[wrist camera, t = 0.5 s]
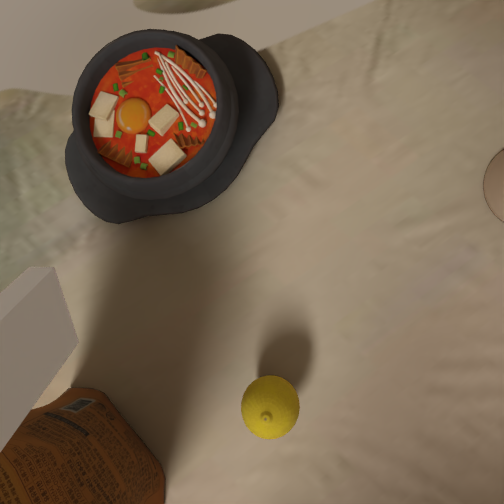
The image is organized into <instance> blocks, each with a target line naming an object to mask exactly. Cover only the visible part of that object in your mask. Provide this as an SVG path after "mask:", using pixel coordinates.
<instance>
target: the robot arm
mask: <svg viewBox="0 0 504 504" xmlns="http://www.w3.org/2000/svg"><path fill="white" fill-rule="evenodd" d="M78 343H79V341H78V338H77V335H76V332H75V329H74V325H73V322H72V319H71V316H70V313H69V310H68V307H67V304H66V301H65V298H64V295H63V292H62V289H61V286H60V283H59V280H58V277H57V274H56V271H55V268H54V267H28V268H27V269H26V270H25V271H24V272H23V273H22V274H21V275H20V276H19V277H17V278H16V279H15V280H14V281H13V282H12V283H11V284H10V285H9V286H8V287H6V288H5V289H4V290H3V291H2V292H1V293H0V452H1V451H2V449H3V448H4V447H5V445H6V444H7V442H8V441H9V440H10V438H11V437H12V435H13V434H14V433H15V431H16V430H17V428H18V427H19V426H20V424H21V423H22V421H23V420H24V419H25V417H26V416H27V414H28V413H29V412H30V410H31V409H32V407H33V406H34V405H35V403H36V402H37V400H38V399H39V398H40V396H41V395H42V393H43V392H44V391H45V389H46V388H47V386H48V385H49V384H50V382H51V381H52V379H53V378H54V377H55V375H56V374H57V372H58V371H59V370H60V368H61V367H62V365H63V364H64V363H65V361H66V360H67V358H68V357H69V355H70V354H71V353H72V351H73V350H74V348H75V347H76V346H77V344H78Z"/></svg>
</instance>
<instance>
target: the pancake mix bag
mask: <svg viewBox="0 0 504 504" xmlns="http://www.w3.org/2000/svg"><path fill="white" fill-rule="evenodd" d="M164 488H165V476H164V473H163V470H162V467H161V464H160V463H159V462H158V460H157V459H156V458H155V457H154V455H153V454H152V453H151V452H150V450H149V449H148V448H147V447H146V445H145V444H144V443H143V442H142V440H141V439H140V438H139V437H138V435H137V434H136V433H135V432H134V430H133V429H132V428H131V427H130V426H129V424H128V423H127V422H126V421H125V420H124V418H123V417H122V416H121V415H120V414H119V412H118V411H117V410H116V408H115V407H114V405H113V404H112V403H111V401H110V400H109V399H108V397H107V396H106V395H105V394H104V393H103V392H101V391H98V390H95V389H92V388H68V389H67V390H66V391H65V392H64V393H63V394H62V395H61V396H60V397H59V398H57V399H56V400H55V401H53V402H51V403H50V404H48V405H45V406H43V407H40V408H36V409H32V410H30V412H29V413H28V414H27V416H26V417H25V419H24V420H23V421H22V423H21V424H20V426H19V427H18V428H17V430H16V431H15V433H14V434H13V435H12V437H11V438H10V440H9V441H8V442H7V444H6V445H5V447H4V448H3V449H2V451H1V452H0V504H164Z"/></svg>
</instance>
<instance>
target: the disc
mask: <svg viewBox="0 0 504 504" xmlns="http://www.w3.org/2000/svg"><path fill="white" fill-rule="evenodd" d="M483 189H484V195H485V199H486V201H487V204H488V206H489V207H490V209H491V211H492V212H493V213H494V214H495V215H496V216H497V217H498V218H499V219H500V220H501V221H503V222H504V150H502V151H501V152H500V153H499V154H497V155H496V156H495V158H494V159H493V160H492V161H491V163H490V164H489V166H488V168H487V170H486V173H485V176H484V183H483Z"/></svg>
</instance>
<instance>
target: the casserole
mask: <svg viewBox="0 0 504 504" xmlns="http://www.w3.org/2000/svg"><path fill="white" fill-rule="evenodd" d="M278 107H279V103H278V91H277V88H276V84H275V81H274V78H273V76H272V74H271V72H270V70H269V68H268V66H267V64H266V62H265V61H264V60H263V59H262V58H261V56H260V55H259V54H258V53H257V52H256V50H254V49H253V48H252V47H251V46H249V45H248V44H247V43H246V42H244V41H242V40H241V39H239V38H237V37H235V36H233V35H228V34H215V35H212V36H209V37H206V38H203V39H200V40H198V39H196V38H194V37H192V36H190V35H187V34H183V33H179V32H175V31H167V30H157V29H147V30H140V31H134V32H131V33H129V34H126V35H123V36H121V37H119V38H117V39H115V40H114V41H112V42H110V43H108V44H107V45H106V46H105V47H103V48H102V49H101V50H100V51H99V52H98V53H97V54H95V56H94V57H93V58H92V59H91V61H90V62H89V63H88V64H87V66H86V67H85V69H84V71H83V73H82V75H81V76H80V78H79V80H78V83H77V86H76V89H75V92H74V97H73V104H72V124H73V128H74V131H73V133H72V134H71V135H70V137H69V138H68V142H67V145H66V149H65V164H66V168H67V172H68V176H69V180H70V182H71V184H72V186H73V188H74V191H75V193H76V194H77V196H78V197H79V198H80V200H81V201H82V203H83V204H84V205H85V206H86V207H87V208H88V209H89V210H90V211H91V212H92V213H93V214H94V215H95V216H97V217H99V218H101V219H102V220H104V221H106V222H110V223H116V224H121V223H125V222H129V221H133V220H137V219H140V218H143V217H147V216H153V215H166V214H178V213H184V212H187V211H190V210H194V209H197V208H199V207H201V206H203V205H205V204H207V203H208V202H210V201H212V200H214V199H215V198H216V197H217V196H219V195H220V194H221V193H222V192H224V191H225V190H226V189H227V188H228V187H229V185H230V184H231V183H232V182H233V181H234V179H235V178H236V177H237V176H238V174H239V172H240V170H241V169H242V167H243V165H244V163H245V161H246V159H247V158H248V156H249V154H250V152H251V150H252V149H253V147H254V145H255V144H256V143H257V141H258V140H259V139H260V138H261V136H262V135H263V134H264V133H265V132H266V130H267V129H268V128H269V127H270V125H271V124H272V123H273V122H274V120H275V118H276V114H277V111H278Z"/></svg>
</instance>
